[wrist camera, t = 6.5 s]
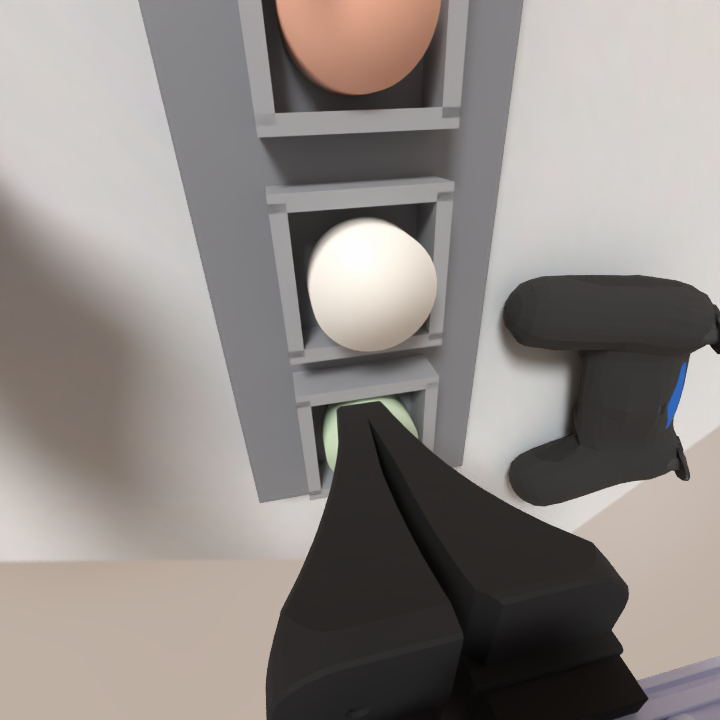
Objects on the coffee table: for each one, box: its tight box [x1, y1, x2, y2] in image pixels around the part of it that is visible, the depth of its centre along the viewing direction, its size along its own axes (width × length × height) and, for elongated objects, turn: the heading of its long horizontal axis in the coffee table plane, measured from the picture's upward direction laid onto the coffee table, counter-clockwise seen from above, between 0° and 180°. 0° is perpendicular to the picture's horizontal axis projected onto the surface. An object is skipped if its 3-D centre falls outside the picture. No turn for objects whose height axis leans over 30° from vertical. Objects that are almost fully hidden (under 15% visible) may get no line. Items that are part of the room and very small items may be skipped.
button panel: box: [138, 0, 523, 503], centre depth 17 cm, size 12×26×4 cm, turn 2°
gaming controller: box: [504, 275, 720, 506], centre depth 24 cm, size 17×6×10 cm
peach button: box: [274, 0, 441, 97], centre depth 11 cm, size 4×4×2 cm
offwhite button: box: [306, 216, 437, 352], centre depth 15 cm, size 4×4×2 cm
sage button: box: [321, 394, 418, 472], centre depth 20 cm, size 4×4×2 cm
